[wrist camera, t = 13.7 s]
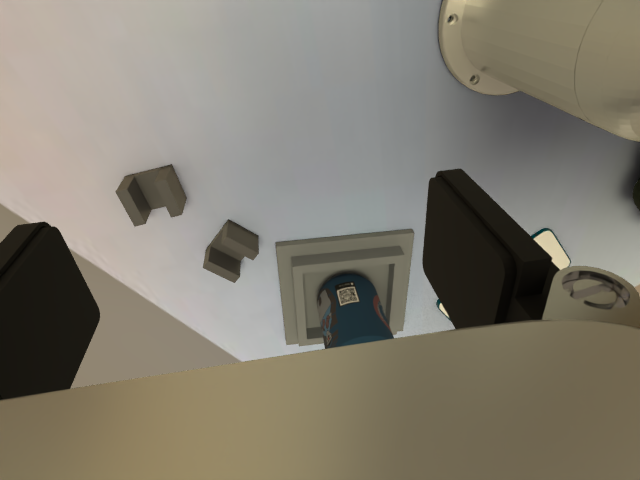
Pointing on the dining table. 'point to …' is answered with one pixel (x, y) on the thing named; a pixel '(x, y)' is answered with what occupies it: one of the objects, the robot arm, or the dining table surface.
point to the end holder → (336, 258)
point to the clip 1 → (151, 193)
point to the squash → (637, 194)
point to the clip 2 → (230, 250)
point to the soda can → (351, 312)
